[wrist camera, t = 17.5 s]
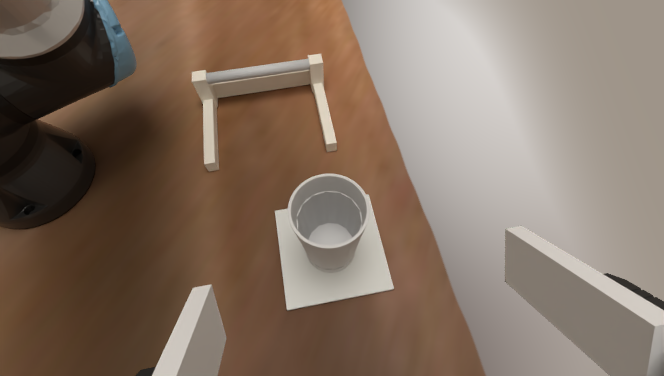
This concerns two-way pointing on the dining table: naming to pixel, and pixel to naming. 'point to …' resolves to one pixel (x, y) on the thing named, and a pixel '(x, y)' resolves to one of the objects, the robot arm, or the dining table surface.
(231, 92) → the dispenser bay
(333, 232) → the cup
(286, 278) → the mat
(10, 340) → the dining table surface
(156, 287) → the dining table surface
